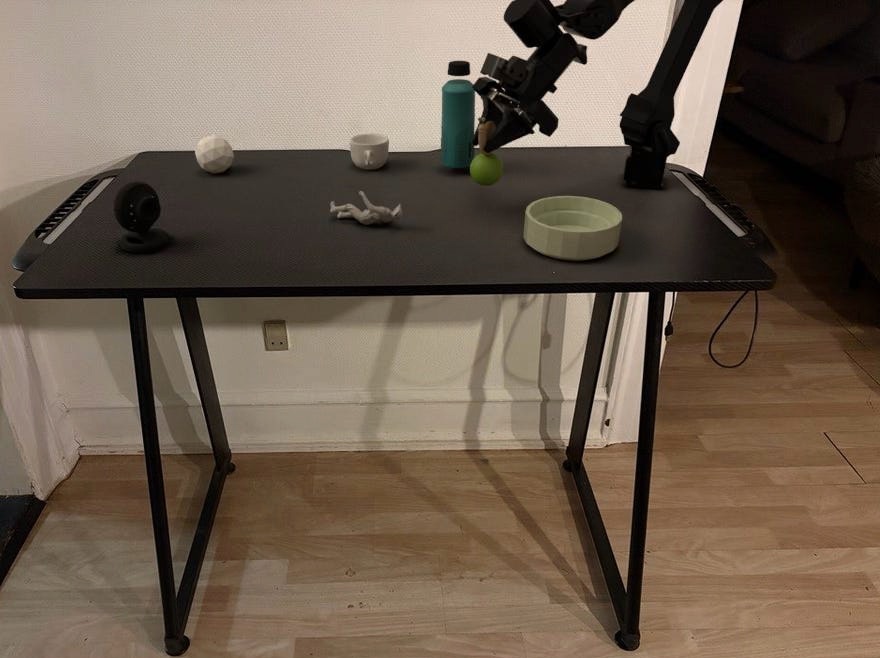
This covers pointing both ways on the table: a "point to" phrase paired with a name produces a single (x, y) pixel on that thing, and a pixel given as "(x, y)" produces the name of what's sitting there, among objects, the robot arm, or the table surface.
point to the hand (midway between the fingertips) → (479, 147)
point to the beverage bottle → (458, 118)
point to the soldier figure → (368, 212)
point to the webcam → (139, 217)
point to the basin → (572, 227)
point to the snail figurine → (486, 158)
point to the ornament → (214, 154)
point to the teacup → (369, 150)
